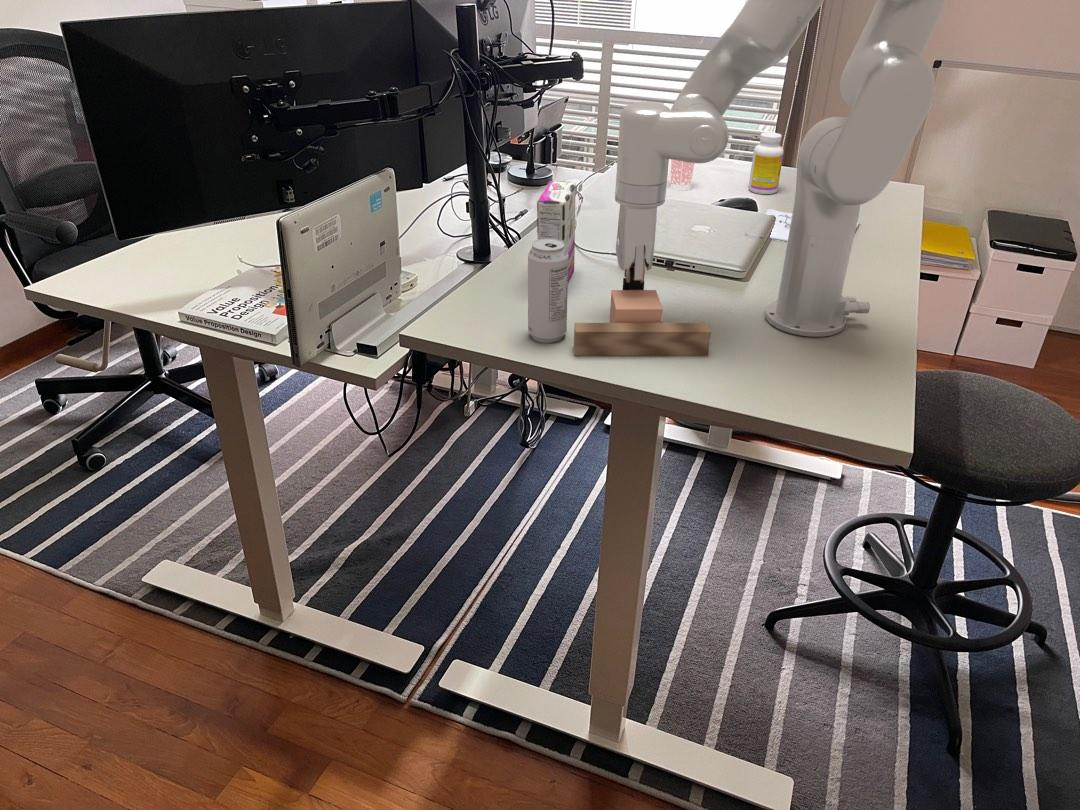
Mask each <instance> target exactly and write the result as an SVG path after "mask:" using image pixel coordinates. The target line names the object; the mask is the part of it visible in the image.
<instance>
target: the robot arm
mask: <svg viewBox="0 0 1080 810" xmlns="http://www.w3.org/2000/svg"><path fill="white" fill-rule="evenodd" d="M947 1H948V0H876V2H875V4H874V6H873V9H872V11H871V14H870V15H869V18H868V20H867V22H866V24H865V26H864V28H863V30H862V32H861V35H860V37H859V39H858V40H857V42H856V44H855V47H854V49H853V51H852V53H851V55H850V57H849V58H848V60H847V63H846V64H845V67H844V69H843V71H842V74H841V77H840V81H839V89H840V90H839V91H840V95H841V97H842V99H843V100H844V101H845V103H846V104H847V106H849V107H850V108H851V110H850V112H849V114H848V116H847V117H842V116H831V117H827V118H824V119H822V120H820V121H818V122H817V123H815V124H814V125H813V126H812V127H811V128H810V129H809V130H808V131H807V133H806V134H805V135H804V137H803V139H802V142H801V144H800V147H799V150H798V155H797V161H796V162H797V163H796V183H795V192H794V193H795V194H794V195H795V196H794V203H793V209H792V213H793V214H792V220H791V225H790V231H789V237H788V243H787V242H786V243H787V244H786V249H785V255H784V261H783V267H782V273H781V279H780V285H779V289H778V290H779V291H778V295H777V300H773V301H772V302H770V303H769V304H768V305H767V306H766V309H765V312H764V317H765V319H766V321H767V322H768V323H769V324H770V325H771V326H773V327H775V328H776V329H778V330H780V331H783V332H785V333H789V334H792V335H796V336H801V337H802V336H803V337H807V338H808V337H812V338H813V337H815V338H816V337H817V338H818V337H819V338H820V337H829V336H832V335H837V334H839V333H840V332H842V331H843V330H844V329H845V327H846V324H847V317H846V316H849V315H850V314H869V313H870V309H871V306H870V302H869V301H857V297H856V296H843V289H844V284H845V280H846V274H847V271H848V266H849V261H850V258H851V252H852V248H853V243H854V239H855V236H856V235H855V234H856V232H857V231H856V229H857V228H858V227H857V222H858V219H859V217H860V210H861V209H860V208H861V205H864V204H866V203H868V202H871V201H872V200H874V199H875V198H877V197H878V196H879V195H880V194H881V193H882V192H883V191H884V190H885V188H887V186H888V185H889V183H890V182H891V181H892V179H893V178H894V175H895V174H896V172H897V170H898V168H899V167H900V165H901V163H902V161H903V160H904V158H905V156H906V154H907V152H908V151H909V149H910V147H911V146H912V143H913V142H914V139H915V138H916V136H917V134H918V133H919V130H920V129H921V127H922V125H923V123H924V121H925V119H926V118H927V116H928V114H929V111H930V110H931V106H932V103H933V99H934V97H935V90H936V80H935V79H936V78H935V73H934V72H933V71H934V70H933V68H932V66H931V64H930V63H929V62H928V61H927V60H926V59H925V58H924V57H923V55H924V52H925V51H926V49H927V47H928V44H930V43H929V42H930V41H931V39H932V36H933V35H934V32H935V30H936V28H937V25H938V23H939V22H940V19H941V17H942V15H943V12H944V9H945V8H946V5H947ZM824 2H825V0H747V1H746V2H745V4H744V5H743V7H742V9H741V10H740V12H739V13H738V15H737V16H736V18H735V19H734V20H733V21H732V23H731V24H730V26H729V27H728V28H727V29H726V30H725V32H723V34H721V36H720V38H719V39H718V40H717V42H716V43H715V44H714V45H713V46H712V47H711V49H709V51H708V52H707V53H706V54H705V56H704V57H703V58H702V60H701V61H700V62H699V63H698V65H697V66H696V67H695V69H694V71H693V72H692V73H691V76H690V77H689V78H688V79H687V81H686V83H685V85H684V86H683V88H682V90H681V91H680V92H679V94H678V96H677V98H676V99H675V100H674V103H673V105H671V106H672V107H671V108H669V107H668V106H667V105H666V104H665V105H664V104H662V103H658V102H650V101H649V102H648V101H641V102H639V101H637V102H633V103H629V104H627V105H625V106H624V107H623V108H622V109H621V111H620V116H619V124H618V126H619V127H618V129H619V130H618V145H617V159H616V160H617V161H616V163H617V164H616V177H615V192H614V193H615V194H614V195H615V196H614V200H615V202H616V203H618V204H619V211H618V222H617V231H616V242H615V253H616V254H615V255H616V258H617V259H616V260H617V263H618V267H619V268H620V270H622V271H624V277H623V278H622V290H645V272H646V271H650V270H651V269H652V267H653V261H654V251H655V241H656V232H657V230H656V229H657V214H658V207H660V206H663V205H665V202H666V197H667V196H666V194H667V183H668V174H669V173H668V172H669V163H670V162H669V161H670V160H671V159H673V160H678V161H684V162H689V163H694V164H706V163H710V162H713V161H714V160H716V159H718V158H719V157H720V156H721V155H722V154H723V153H724V152H725V150H726V148H727V146H728V143H729V137H730V136H729V135H730V133H729V128H728V125H727V122H726V121H725V119H724V117H723V116H724V114H725V113H726V111H728V109H729V107H730V105H731V104H732V103H733V102H734V100H735V99H736V97H737V96H738V94H739V93H740V92H741V91H742V90H743V88H744V87H746V85H747V84H748V83H749V82H750V81H751V80H752V79H753V78H755V77H756V76H758V74H760V73H762V72H764V71H766V70H768V69H769V68H771V67H774V66H775V65H776V64H778V63H780V62H781V61H782V60H783V59H785V57H786V56H788V54H789V52H790V51H791V49H792V48H793V46H794V45H795V43H796V42H797V41H798V39H799V38H800V36H801V35H802V33H803V32H804V31H805V29H806V27H807V26H808V24H809V23H810V21H811V20H812V19H813V18H814V16H815V14H816V13H817V11H819V9H820V8H821V6H822V4H823V3H824ZM856 227H857V228H856Z"/></svg>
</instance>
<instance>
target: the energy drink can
mask: <svg viewBox="0 0 1080 810" xmlns="http://www.w3.org/2000/svg"><path fill="white" fill-rule="evenodd" d="M568 258H569V255H568V253H567V251H566V249H565V244H564V242H563V241H561V240H558V239H551V238H545V239H536V240H533V241H532V243H531V248H530V249H529V252H528V253H527V331H528V333H529V334H530V335H531V338H532V339H533V340H535V341H537V342H540V343H545V344H546V343H547V344H548V343H556V342H559V341H560V340H562V339H563V337H564V335H565V334H566V333H567V325H568V295H569V293H568V291H569V290H568V289H569V283H568Z"/></svg>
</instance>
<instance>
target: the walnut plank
mask: <svg viewBox="0 0 1080 810" xmlns="http://www.w3.org/2000/svg"><path fill="white" fill-rule="evenodd" d="M573 325H574V326H573V327H574V329H573V330H574V331H573V351H574V357H579V356H580V357H584V356H585V357H586V356H589V357H590V356H591V357H592V356H593V357H597V356H598V357H613V356H614V357H617V356H618V357H622V356H623V357H624V356H625V357H626V356H630V357H632V356H633V357H635V356H636V357H637V356H638V357H642V356H643V357H645V356H647V357H650V356H651V357H653V356H654V357H657V356H659V357H661V356H662V357H669V356H671V357H673V356H675V357H677V356H679V357H680V356H681V357H682V356H683V357H687V356H688V357H689V356H690V357H697V356H699V357H700V356H701V357H702V356H703V357H704V356H705V357H707V356H709V351H710V344H711V335H712V331H711V328H710V326H709V323H708V322H661V323H610V322H574V324H573Z"/></svg>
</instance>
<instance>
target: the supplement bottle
mask: <svg viewBox="0 0 1080 810" xmlns="http://www.w3.org/2000/svg"><path fill="white" fill-rule="evenodd" d="M759 136H760V137H759V141H760V143H759V144H756V146H755V147H754V148H753V152H752V161H751V169H750V175H749V176H750V177H749V183H748V189H749V191H750V192H752V193H755V194H758V195H772V194H775V193H777V192H778V189H779V183H780V178H781V171H782V163H783V157H784V152H785V151H784V149H783V147H782V146H781V145H780V143H781V141H782V136H783V135H782V134H781V133H779V132H778V133H776V132H772V131H768V132H767V131H766V132H761V133H760V135H759Z"/></svg>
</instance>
